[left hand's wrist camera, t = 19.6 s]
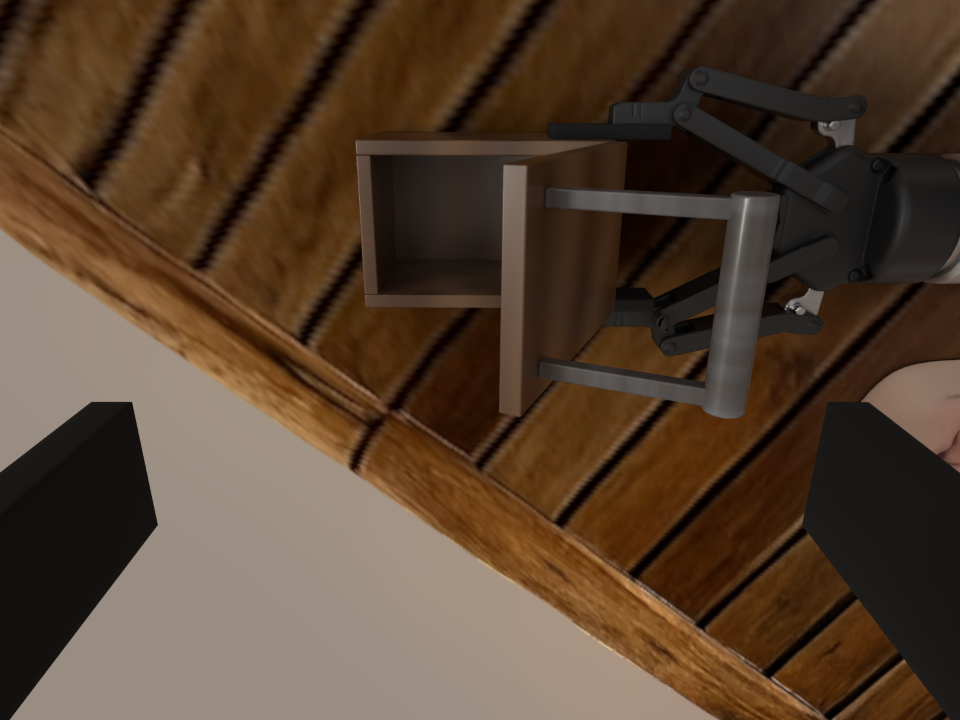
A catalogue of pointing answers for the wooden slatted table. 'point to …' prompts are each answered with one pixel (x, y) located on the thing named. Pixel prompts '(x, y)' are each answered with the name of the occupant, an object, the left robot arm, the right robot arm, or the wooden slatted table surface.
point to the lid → (615, 278)
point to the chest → (438, 213)
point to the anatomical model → (924, 405)
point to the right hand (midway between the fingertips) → (546, 219)
